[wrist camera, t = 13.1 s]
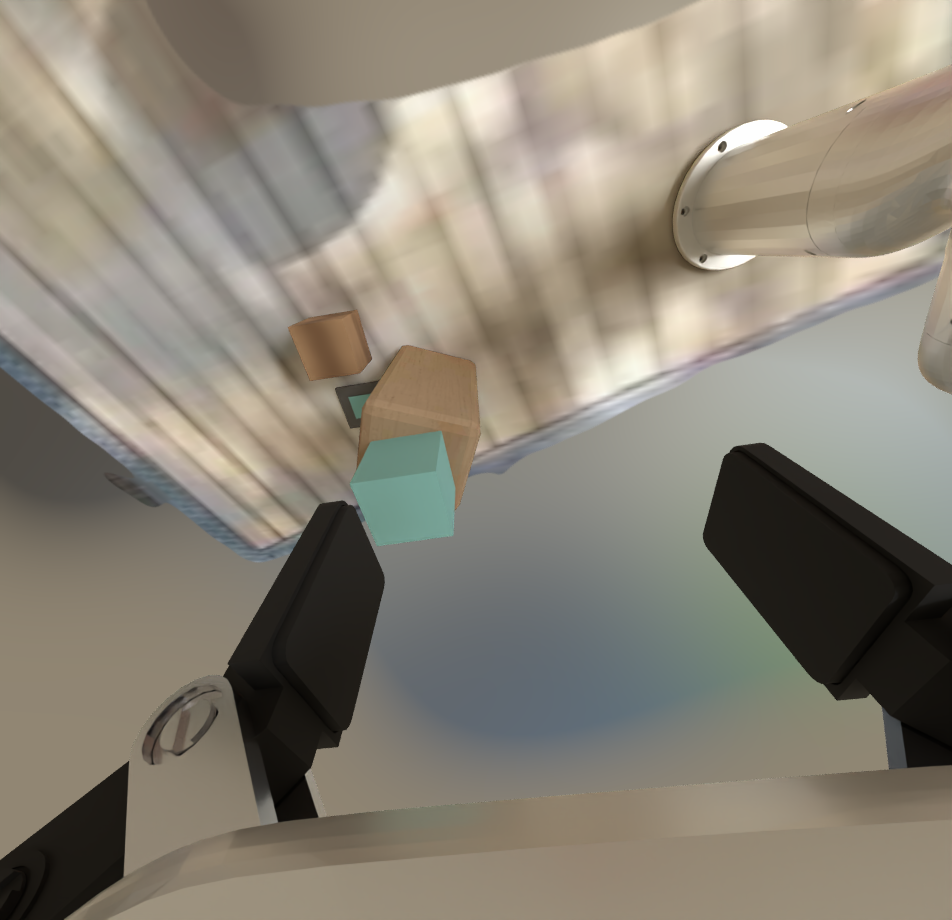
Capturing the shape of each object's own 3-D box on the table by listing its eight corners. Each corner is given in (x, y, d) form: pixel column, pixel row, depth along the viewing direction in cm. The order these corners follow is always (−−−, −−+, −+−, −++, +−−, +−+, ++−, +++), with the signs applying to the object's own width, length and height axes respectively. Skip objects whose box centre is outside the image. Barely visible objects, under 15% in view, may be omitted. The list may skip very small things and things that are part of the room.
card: (378, 381, 46) (378, 382, 46) (391, 421, 49) (390, 422, 49) (336, 387, 46) (334, 389, 46) (351, 427, 50) (350, 428, 49)
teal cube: (441, 430, 28) (435, 471, 23) (455, 488, 31) (453, 535, 26) (370, 441, 28) (349, 484, 23) (391, 497, 32) (377, 546, 26)
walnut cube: (357, 309, 42) (341, 318, 36) (372, 358, 45) (360, 373, 40) (309, 317, 42) (287, 327, 37) (327, 365, 45) (310, 380, 40)
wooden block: (391, 411, 49) (351, 500, 32) (401, 341, 44) (359, 401, 27) (460, 427, 50) (457, 519, 33) (477, 360, 45) (484, 428, 28)
